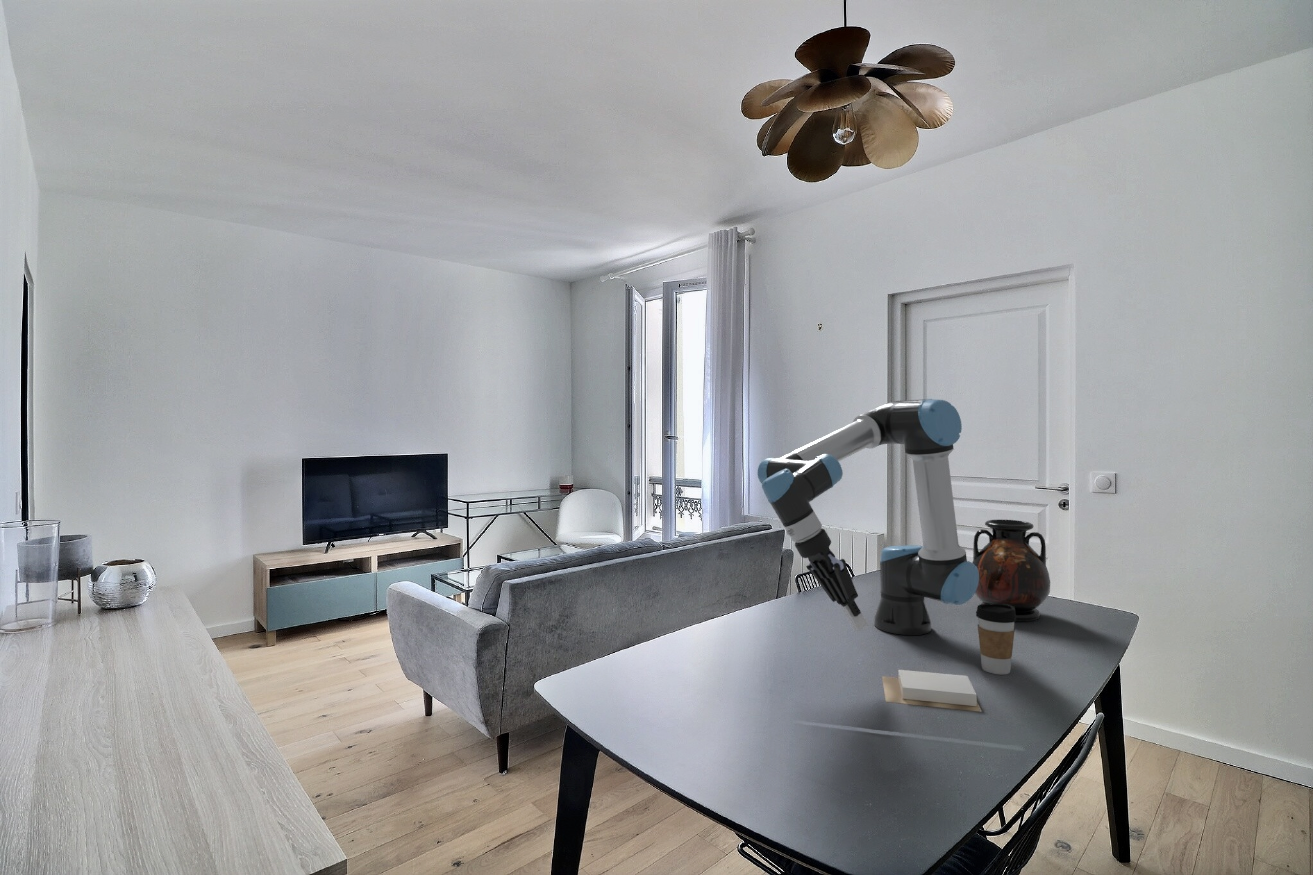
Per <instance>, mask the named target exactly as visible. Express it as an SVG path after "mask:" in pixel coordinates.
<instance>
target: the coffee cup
mask: <svg viewBox="0 0 1313 875" xmlns="http://www.w3.org/2000/svg"><path fill="white" fill-rule="evenodd" d="M976 608H977V609H976V612H975V616H976V618H977V621H978V623H977V631H978V641H979V642H978V643H979V652H980V660H981V669H982V670H983V671H985V672H986V673H990V674H994V675H1001V676H1002V675H1008V674H1010V673H1011V670H1012V669H1011V667H1012V666H1011V665H1012V657H1013V648H1014V638H1015V630H1016V628H1015V622H1017V621H1016V613H1015V607H1013V606H1011V605H1007V604H981V605H979V604H978V605H977V607H976Z"/></svg>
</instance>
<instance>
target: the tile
mask: <svg viewBox="0 0 1313 875" xmlns="http://www.w3.org/2000/svg"><path fill="white" fill-rule="evenodd" d="M897 672H898V677H897V678H898V680H899V685H900V690H901V694H902V699H910V700H920V701H929V702H939V703H949V704H959V705H968V706H977V702H978V699H977V695H978V694H977V693H976V690H975V688H974V687H973V684H972V682H971V681H970V679H969V676H968V675H962V674H950V673H938V672H928V671H918V670H917V671H916V670H908V669H907V670H906V669H898V671H897Z"/></svg>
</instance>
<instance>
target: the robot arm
mask: <svg viewBox="0 0 1313 875" xmlns="http://www.w3.org/2000/svg"><path fill="white" fill-rule="evenodd" d="M962 429H963V428H962V419H961V416H960V413H959V412H958V410H957V408H956V407H955V406H954V405H952V404H951V402H949V401H947V400H946V399H933V398H925V399H910V400H894V401H890V402H888V403H884V404H882V405H879V406H876V407H875V408H872V409H870V410H867V411H865V412H864V413H861V414H860V415H857V416H856V417H854V419H853V421H852V422H851V423H849V424H847V425H845V426H843V427H840V428H839V429H837V430H834V431H833V432H830V433H829V434H826V435H825V436H822V437H821V438H818V439H816V440H814V441H812V442H810V443H808V444H805V445H804V446H801V447H800V448H797V449H795V450H793V451H790V452H789V453H786V454H784V455H782V456H780V457H768V458H765V459H763V460H762V461H761V462H760V463H759V464H758V467H757V478H758V480H759V482H760V484H761V488H762V491H763V493H764V495H765V497H766V499H767V502H768V503H769V504H770V505H771V507H772V509H773V511H774V513H775V514H776V515H777V517H778V519H779V520H780V522H781V524H782V526H783V527H784V529H785V530H786V534H787V535H788V536H789V537H790V540H791V541H792V542H794V547H795V548H796V550H797V552H798V554H799V555H800V557H801V558H802V559H807V560H808V561H809V563H808V564H807V565H806V569H807V570H808V571H809V572H810V573H811V574H812V575H813V577H814V578H815V579H816V581H817V582H818V584H819V585H820V587H821V588H822V589H823V590H824V592H825V593H826V595H827V596H828V597H829V599H830V600H831V601H832V602H833V603H835V602H836V604H837V605H840V606H841V608H842V609H843V611H844V613H845V615H846V617H847V618H848V620H849V621H850V623H851V625H852V628H853V629H854V631H855V632H861V631H863V629H865V628H866V627H868V626H869V623H868V622H867V619H866V618H865V617H864V614H863V612H861V609H860V608H859V606H858V604H857V603H856V601H855V600H856V598H858V597H859V595H858V592H857V589H856V587H855V585H854V582H853V580H852V578H851V575H850V573H849V570H848V568H847V562H846V560H845V558H841V559H838V558H836V556H835V554H834V553H833V551H832V549H830V546H831V544H832V540H831V538H830V536H829V535H828V533H827V531H826V530H825V529H824V528H822V527H823V524H822V523H821V521H820V519H819V517H818V516H817V514H816V512H815V511H814V510H815V509H813V507H812V505H811V504H810V503H811V502H812V501H813V500H815V499H816V498H817V497H819V496H821V495H822V494H823V493H825V492H827V491H828V490H830V489H832V488H833V487H834V486H835V485H836V484H837V483H839V482H840V481H841V480H842V478H843V474H844V473H843V468H842V467H841V466H842V465H841V463H840V462H841V461H843V460H845V459H847V458H848V457H852V455H855V454H857V453H859V452H860V451H862V450H864V449H871V450H872V449H874V448H876V447H878V446H879V447H880V446H882V445H890V444H891V445H892V444H893V445H894V444H897V445H898V444H899V445H904V451H905V455H906V456H908V457H909V458H911V460H912V464H913V465H912V466H913V467H912V468H913V475H914V481H915V482H914V483H915V490H916V497H917V505H918V512H919V513H918V514H919V522H920V529H921V530H920V531H921V538H922V545H913V544H911V545H909V544H907V545H894V546H886V547H883V549H882V550H881V551H880V561H879V566H880V567H879V568H880V576H879V577H880V600H879V602H878V606H877V608H876V610H875V614H874V619H873V620H874V621H873V622H874V626H875V627H876V629H879V630H880V631H883V632H887V633H891V634H897V635H903V636H920V635H921V636H922V635H926V634H928V633H931V632H932V621H931V618H930V614H929V612H928V609H927V606H926V602H925V598H926V599H929V600H934V601H937V602H941V603H943V604H945V605H948V604H951V605H954V606H962V605H965V604H967V603H968V602H969V601H970V600H972V598H973V596H974V595H975V591H976V589H977V587H978V582H979V572H978V569H977V567H976V566H975V565H974V564H973V563H972V562H973V561H972V562H971V561H970V560H968V559H967V552H966V549H965V548H964V547H963V546H961V545H960V543H959V536H958V528H957V520H956V512H955V504H954V496H953V495H954V494H953V488H952V486H953V485H952V480H951V471H950V469H951V468H950V462H949V455H950V454H951V453H952V452H953V451H954V450H955V449H954V444H956V443H957V442H958V440H959V439H960V437H961V435H960V434H961V433H962Z"/></svg>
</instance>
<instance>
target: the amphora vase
mask: <svg viewBox="0 0 1313 875" xmlns="http://www.w3.org/2000/svg"><path fill="white" fill-rule="evenodd" d="M984 525H985V526H986V527H988V528H990V529H991V532H992V533H991V532H990V531H989V530H987V529H979V530H977V531H976V532H975V535H974V536H973V551H972V554H973V555H972V559H973V561H972V563H973V564H974V565H975V566H976V567H977V569H978V572H979V582H978V587H977V589H976V591H975V593H974V595H975V597H976V598H977V599H978V600H979V601H980V603H979V604H978V605H981V604H1007V605H1011V606H1013V607H1015V613H1016V621H1015V622H1032V621H1036V620H1037V619H1039V618H1040V617H1041V611H1040V609H1038V608H1039V607H1040V606H1041V605H1042V604H1044V603H1045V601H1046V600H1047V599H1048V597H1049V594H1050V593H1051V578H1050V573H1049V570H1048V568H1047V548H1046V539H1045V538H1044V536H1043V535H1042V534H1041V533H1039V532H1035V531H1034V532H1030V533H1029V534H1027V531H1031V530H1032V529H1034V524H1033V523H1031V522H1029V521H1024V520H1013V519H990V520H989V519H988V520H986V521H985V522H984ZM982 534H985V535H987V537H988V543H986V545H985V546H984V547H982V549H981V550H980V551H979V548H978V547H979V544H978V543H979V538H980V536H981V535H982ZM1026 534H1027V535H1026ZM1033 537H1036V538H1038V539H1039V541H1040V554H1038V553H1037V551H1035V550H1034V549H1033V547H1032V546H1031V545H1030V539H1032V538H1033Z"/></svg>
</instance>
